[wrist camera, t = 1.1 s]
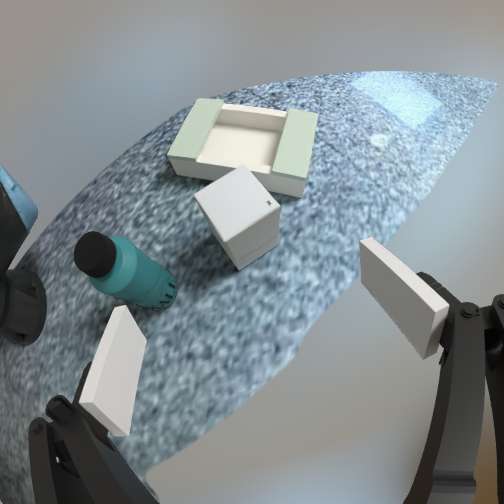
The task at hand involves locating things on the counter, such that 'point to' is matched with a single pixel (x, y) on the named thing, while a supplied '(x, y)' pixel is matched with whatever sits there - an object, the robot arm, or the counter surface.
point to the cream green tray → (246, 144)
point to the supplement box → (241, 215)
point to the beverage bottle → (124, 271)
